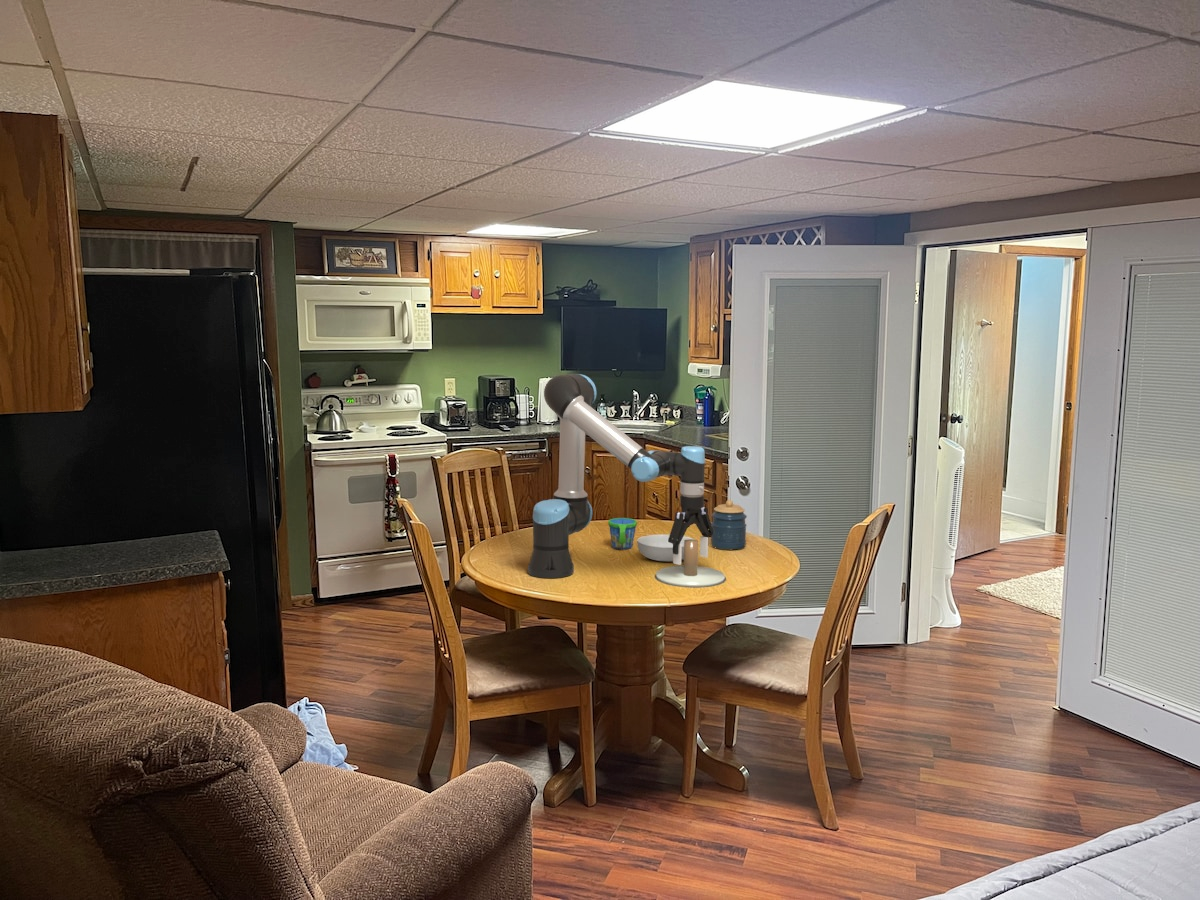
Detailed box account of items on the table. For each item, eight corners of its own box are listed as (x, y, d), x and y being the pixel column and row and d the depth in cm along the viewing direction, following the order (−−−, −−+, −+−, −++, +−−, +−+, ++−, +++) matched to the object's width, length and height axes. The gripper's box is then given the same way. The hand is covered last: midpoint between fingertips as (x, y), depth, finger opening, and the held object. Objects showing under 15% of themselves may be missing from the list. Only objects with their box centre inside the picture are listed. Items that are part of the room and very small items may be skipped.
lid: (696, 591, 269) (696, 552, 267) (642, 577, 284) (642, 540, 283) (738, 577, 285) (739, 541, 283) (685, 564, 300) (685, 530, 298)
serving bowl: (706, 557, 313) (706, 538, 312) (678, 570, 295) (678, 550, 294) (655, 549, 324) (655, 530, 323) (625, 561, 307) (625, 541, 306)
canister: (734, 541, 337) (735, 496, 335) (752, 549, 325) (753, 502, 323) (704, 544, 332) (705, 498, 330) (721, 552, 320) (722, 504, 318)
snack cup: (634, 553, 317) (634, 525, 316) (605, 552, 319) (605, 524, 317) (638, 543, 333) (638, 516, 331) (610, 542, 334) (610, 515, 333)
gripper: (676, 501, 269) (674, 569, 272) (725, 491, 287) (723, 555, 290) (657, 498, 275) (656, 564, 277) (706, 489, 292) (705, 551, 295)
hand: (690, 560), depth 284 cm, fingers open, 13 cm apart
